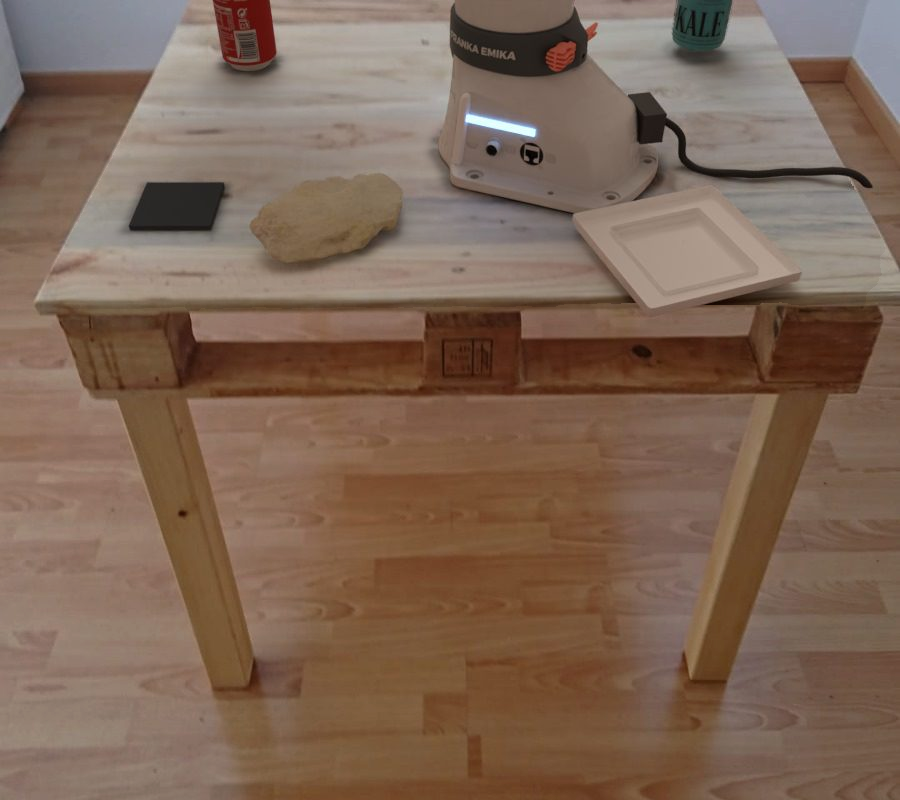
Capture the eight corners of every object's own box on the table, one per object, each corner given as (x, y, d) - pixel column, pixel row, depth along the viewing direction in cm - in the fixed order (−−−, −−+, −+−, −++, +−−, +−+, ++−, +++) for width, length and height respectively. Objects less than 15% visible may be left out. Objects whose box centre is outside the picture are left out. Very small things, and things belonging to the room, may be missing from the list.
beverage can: (283, 52, 114) (270, -53, 105) (269, 76, 109) (254, -32, 101) (233, 49, 114) (215, -55, 106) (216, 72, 110) (197, -35, 101)
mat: (224, 186, 92) (224, 181, 92) (211, 230, 87) (210, 225, 86) (148, 186, 92) (146, 182, 92) (129, 230, 87) (128, 225, 86)
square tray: (646, 327, 77) (797, 289, 80) (650, 308, 75) (803, 271, 79) (569, 231, 86) (707, 202, 90) (571, 213, 85) (711, 184, 89)
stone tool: (239, 191, 80) (381, 144, 88) (232, 218, 84) (369, 171, 91) (290, 269, 79) (429, 214, 86) (280, 294, 82) (416, 239, 90)
